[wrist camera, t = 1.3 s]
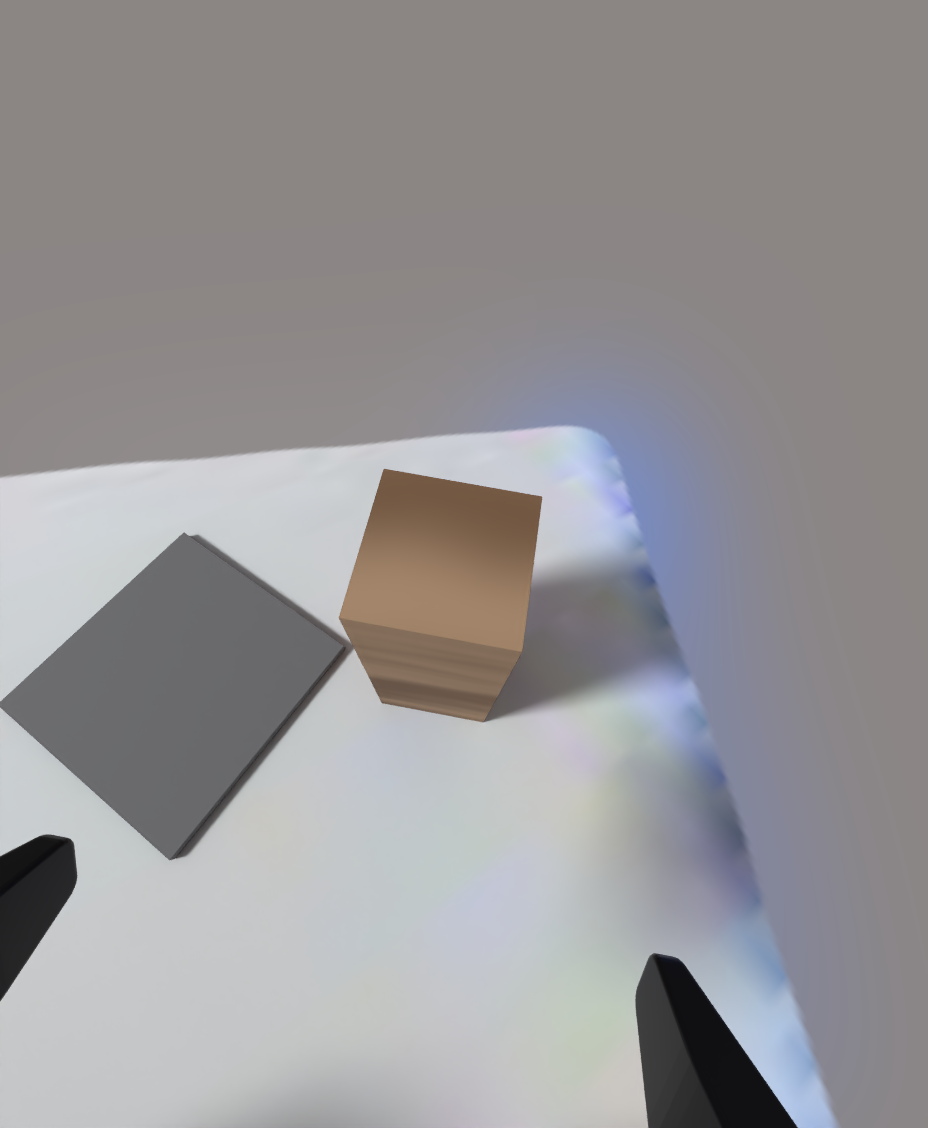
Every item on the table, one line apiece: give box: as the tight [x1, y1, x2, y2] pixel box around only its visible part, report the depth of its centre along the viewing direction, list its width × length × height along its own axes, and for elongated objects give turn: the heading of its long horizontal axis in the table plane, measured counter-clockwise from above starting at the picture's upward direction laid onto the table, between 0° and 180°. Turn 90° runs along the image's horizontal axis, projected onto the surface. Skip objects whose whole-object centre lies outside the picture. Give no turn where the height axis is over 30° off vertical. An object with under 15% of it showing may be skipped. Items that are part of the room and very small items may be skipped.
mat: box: [0, 533, 345, 860], centre depth 22 cm, size 10×10×1 cm
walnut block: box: [339, 469, 542, 722], centre depth 18 cm, size 4×4×11 cm
